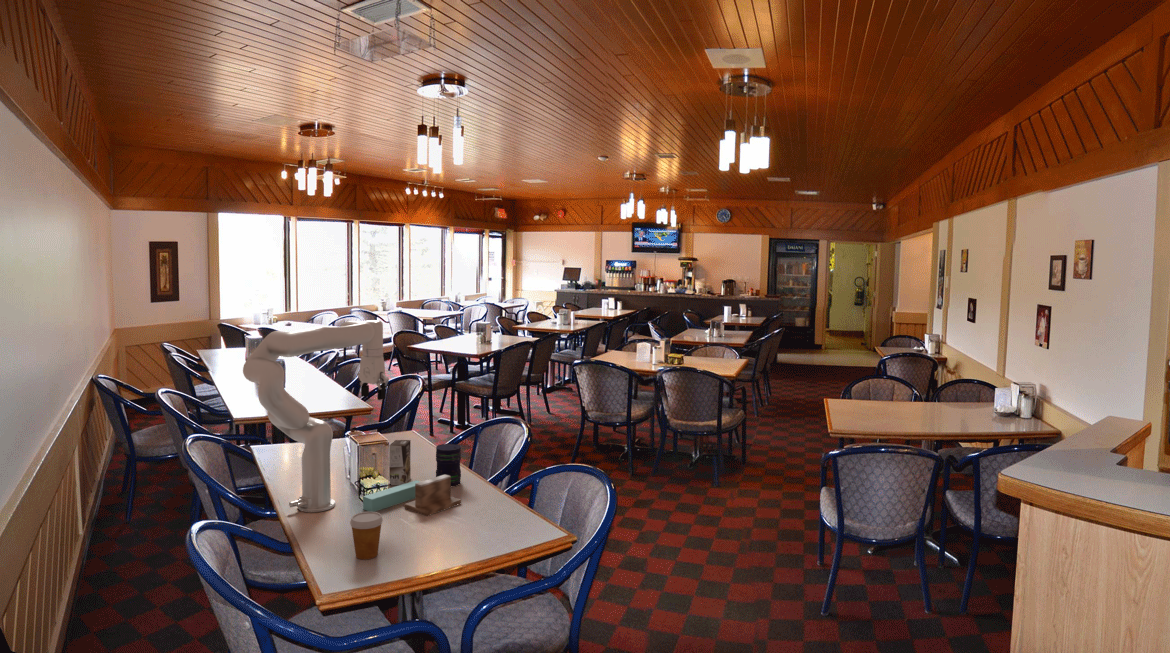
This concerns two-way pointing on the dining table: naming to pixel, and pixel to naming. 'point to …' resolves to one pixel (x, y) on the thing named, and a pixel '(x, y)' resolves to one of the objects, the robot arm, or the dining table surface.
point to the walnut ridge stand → (433, 496)
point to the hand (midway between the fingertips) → (373, 397)
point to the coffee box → (399, 462)
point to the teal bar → (389, 497)
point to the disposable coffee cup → (366, 534)
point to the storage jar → (449, 462)
